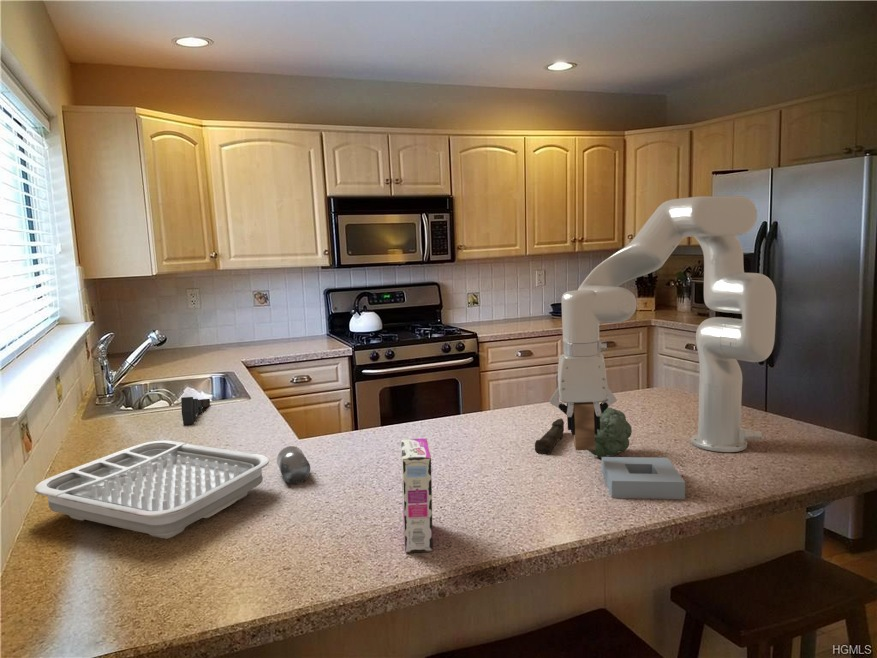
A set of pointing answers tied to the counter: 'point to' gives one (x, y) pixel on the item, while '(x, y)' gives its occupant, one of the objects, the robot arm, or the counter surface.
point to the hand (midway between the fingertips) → (583, 432)
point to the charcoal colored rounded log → (550, 438)
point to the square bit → (584, 426)
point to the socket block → (642, 478)
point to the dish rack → (154, 486)
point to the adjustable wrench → (192, 408)
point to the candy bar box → (417, 495)
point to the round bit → (293, 465)
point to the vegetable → (612, 433)
